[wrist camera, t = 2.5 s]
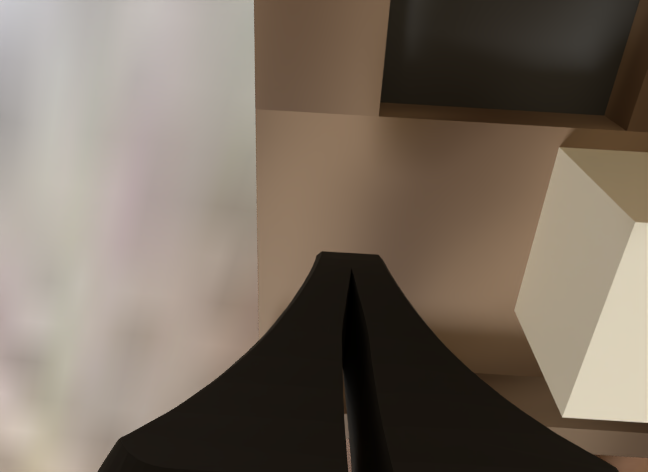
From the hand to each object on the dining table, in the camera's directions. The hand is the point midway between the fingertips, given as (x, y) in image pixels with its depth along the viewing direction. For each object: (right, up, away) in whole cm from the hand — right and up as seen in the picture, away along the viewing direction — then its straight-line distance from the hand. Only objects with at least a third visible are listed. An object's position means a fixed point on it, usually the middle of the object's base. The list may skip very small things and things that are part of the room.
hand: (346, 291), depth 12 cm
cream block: (+8, +1, +3) cm, 8 cm away
